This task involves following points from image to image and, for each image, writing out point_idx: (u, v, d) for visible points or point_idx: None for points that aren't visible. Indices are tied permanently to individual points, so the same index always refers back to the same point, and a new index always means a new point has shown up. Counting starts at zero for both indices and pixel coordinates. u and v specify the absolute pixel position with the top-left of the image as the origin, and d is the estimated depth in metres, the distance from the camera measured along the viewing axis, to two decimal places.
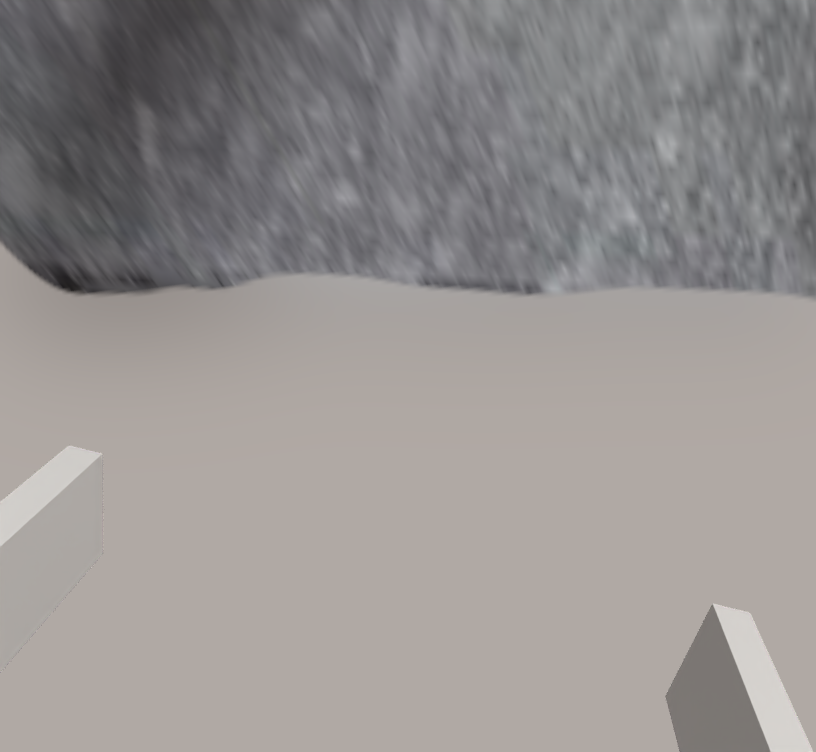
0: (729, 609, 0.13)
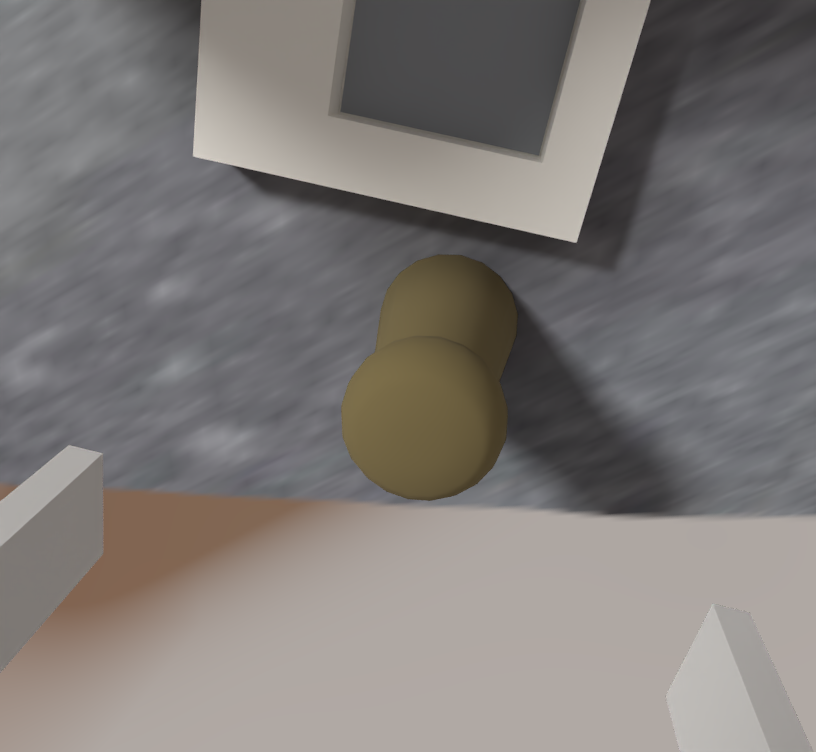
0: (728, 609, 0.13)
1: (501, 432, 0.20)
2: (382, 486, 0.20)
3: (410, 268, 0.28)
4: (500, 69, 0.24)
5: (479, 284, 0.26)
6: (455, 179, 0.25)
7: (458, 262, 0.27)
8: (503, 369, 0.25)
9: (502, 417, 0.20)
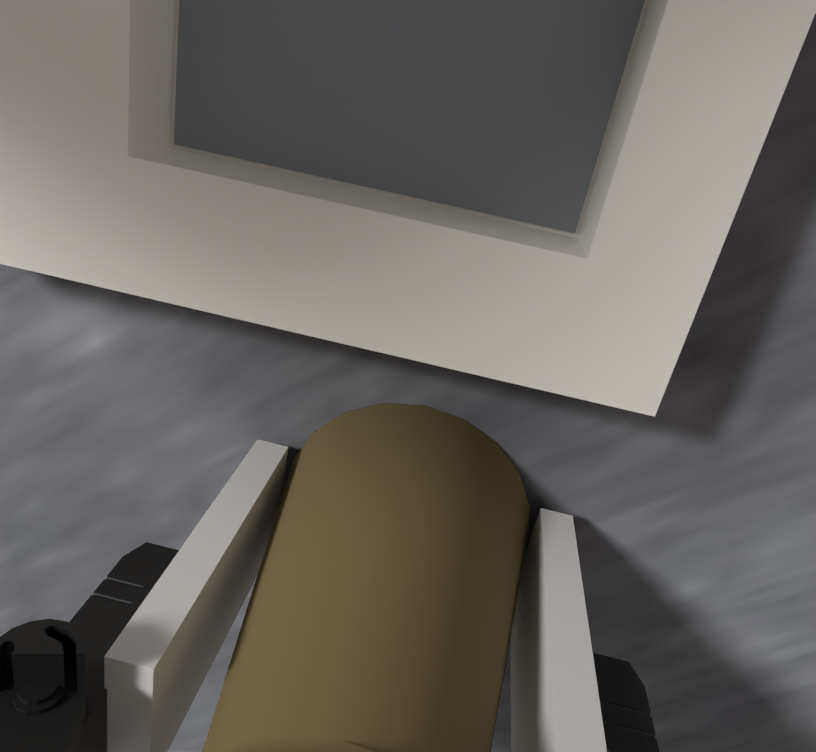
0: (554, 512, 0.15)
1: None
2: None
3: (330, 429, 0.15)
4: (495, 55, 0.11)
5: (456, 484, 0.13)
6: (402, 288, 0.12)
7: (417, 426, 0.14)
8: (503, 672, 0.12)
9: None
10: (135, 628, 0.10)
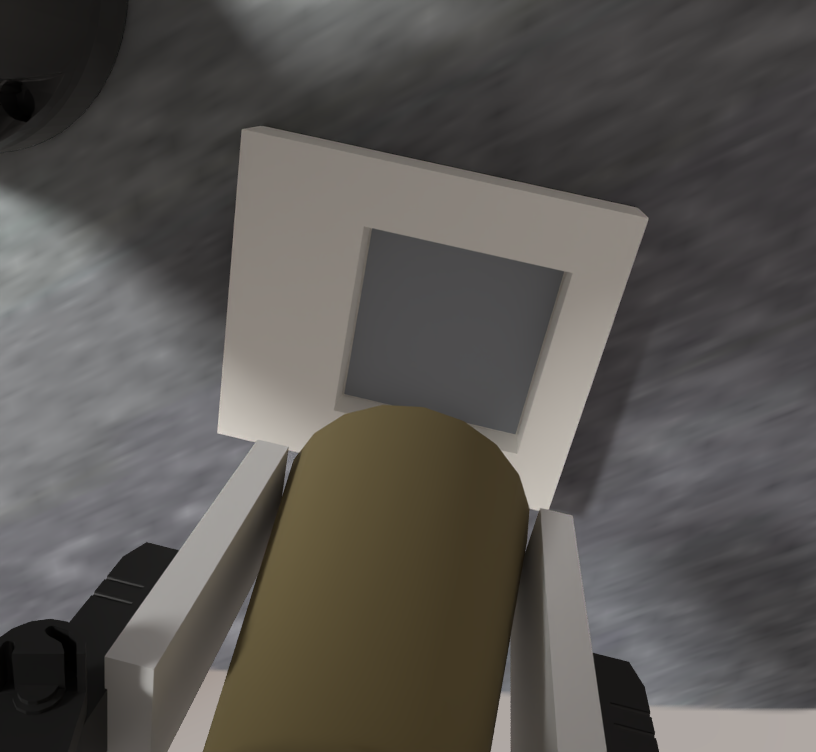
0: (553, 512, 0.15)
1: None
2: None
3: (330, 431, 0.15)
4: (481, 370, 0.28)
5: (456, 485, 0.13)
6: None
7: (417, 427, 0.14)
8: (503, 674, 0.12)
9: None
10: (135, 628, 0.10)
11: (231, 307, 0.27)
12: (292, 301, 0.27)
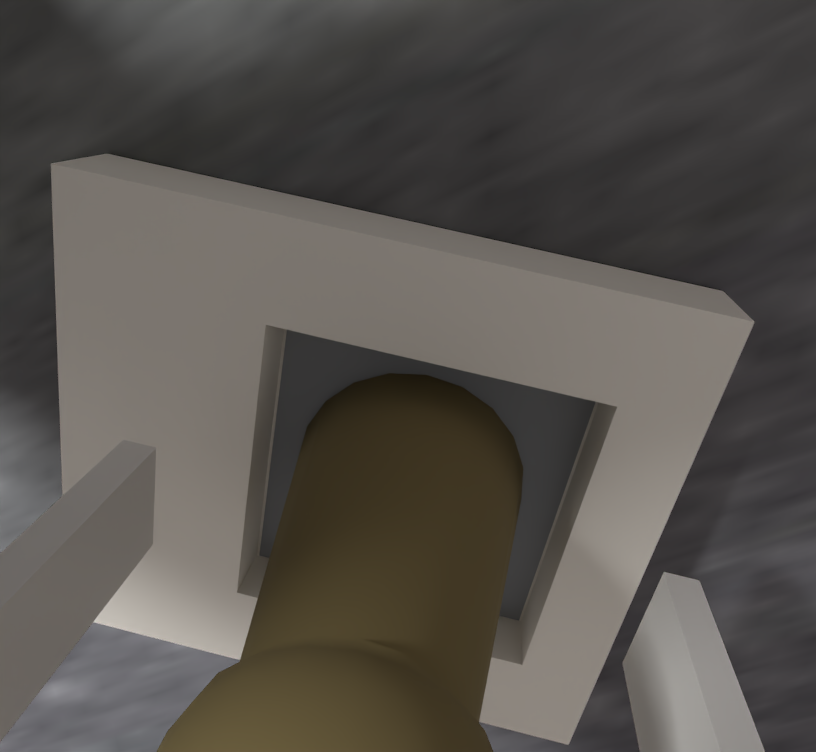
0: (679, 577, 0.14)
1: None
2: None
3: (341, 397, 0.17)
4: None
5: (457, 441, 0.15)
6: None
7: (421, 392, 0.16)
8: (500, 605, 0.14)
9: None
10: None
11: (66, 442, 0.17)
12: (160, 436, 0.17)
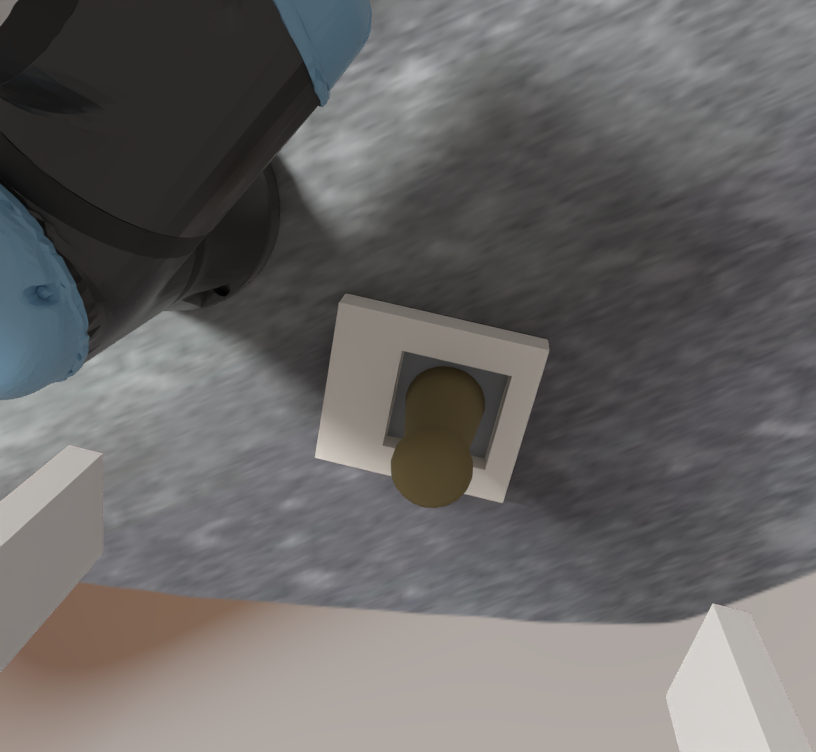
0: (729, 609, 0.13)
1: (469, 475, 0.41)
2: (411, 501, 0.42)
3: (423, 374, 0.49)
4: None
5: (462, 387, 0.47)
6: None
7: (450, 372, 0.48)
8: (474, 435, 0.46)
9: (469, 467, 0.41)
10: None
11: (327, 389, 0.50)
12: (361, 387, 0.49)
